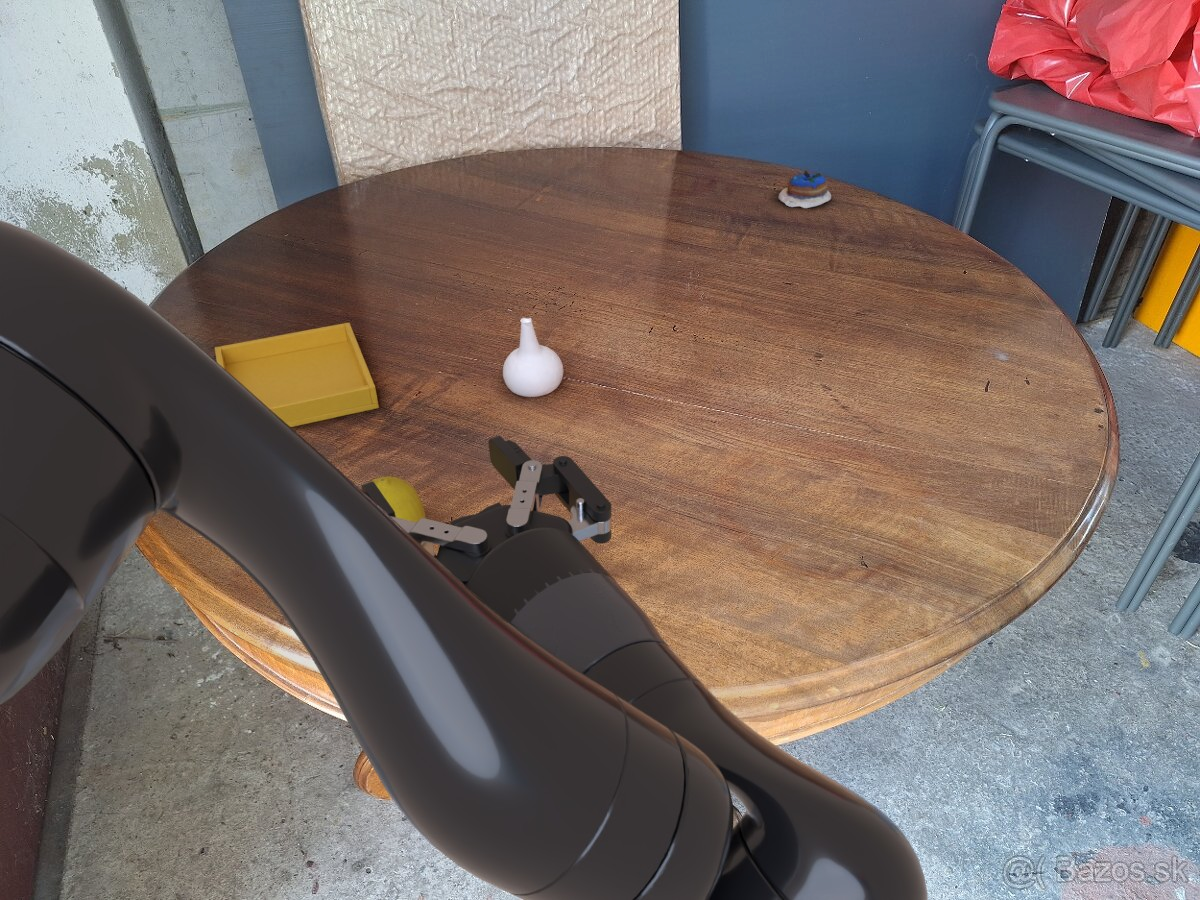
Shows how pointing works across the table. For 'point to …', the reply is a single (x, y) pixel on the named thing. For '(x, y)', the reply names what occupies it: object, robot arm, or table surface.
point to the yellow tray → (304, 373)
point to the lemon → (401, 498)
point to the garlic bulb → (532, 366)
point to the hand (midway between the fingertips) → (432, 470)
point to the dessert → (805, 191)
